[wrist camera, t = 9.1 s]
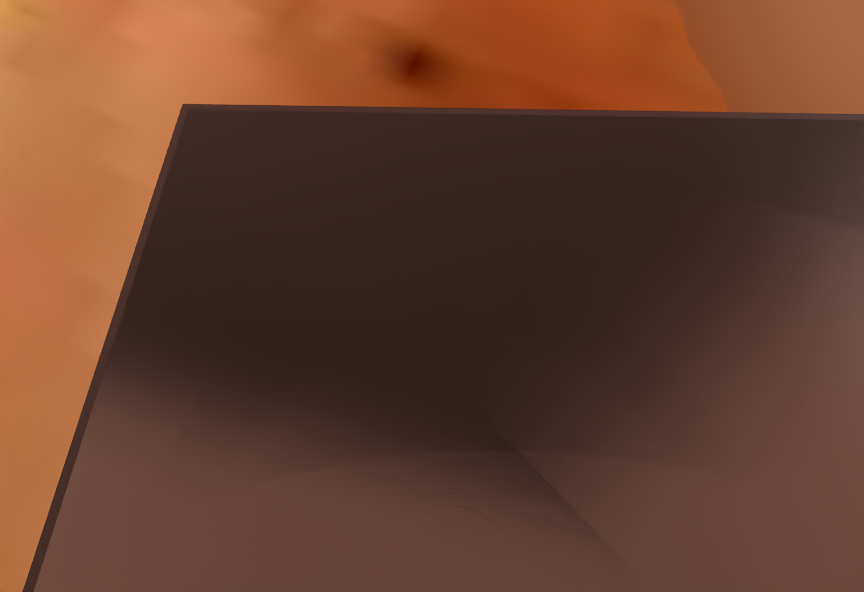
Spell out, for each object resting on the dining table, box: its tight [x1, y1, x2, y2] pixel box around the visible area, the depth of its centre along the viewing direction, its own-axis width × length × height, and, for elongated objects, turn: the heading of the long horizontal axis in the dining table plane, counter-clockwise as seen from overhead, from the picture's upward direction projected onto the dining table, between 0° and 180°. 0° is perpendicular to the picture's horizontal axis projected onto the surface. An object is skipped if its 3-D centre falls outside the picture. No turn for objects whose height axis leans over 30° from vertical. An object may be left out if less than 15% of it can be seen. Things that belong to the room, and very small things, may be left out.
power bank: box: [23, 104, 864, 592], centre depth 8 cm, size 5×5×13 cm
